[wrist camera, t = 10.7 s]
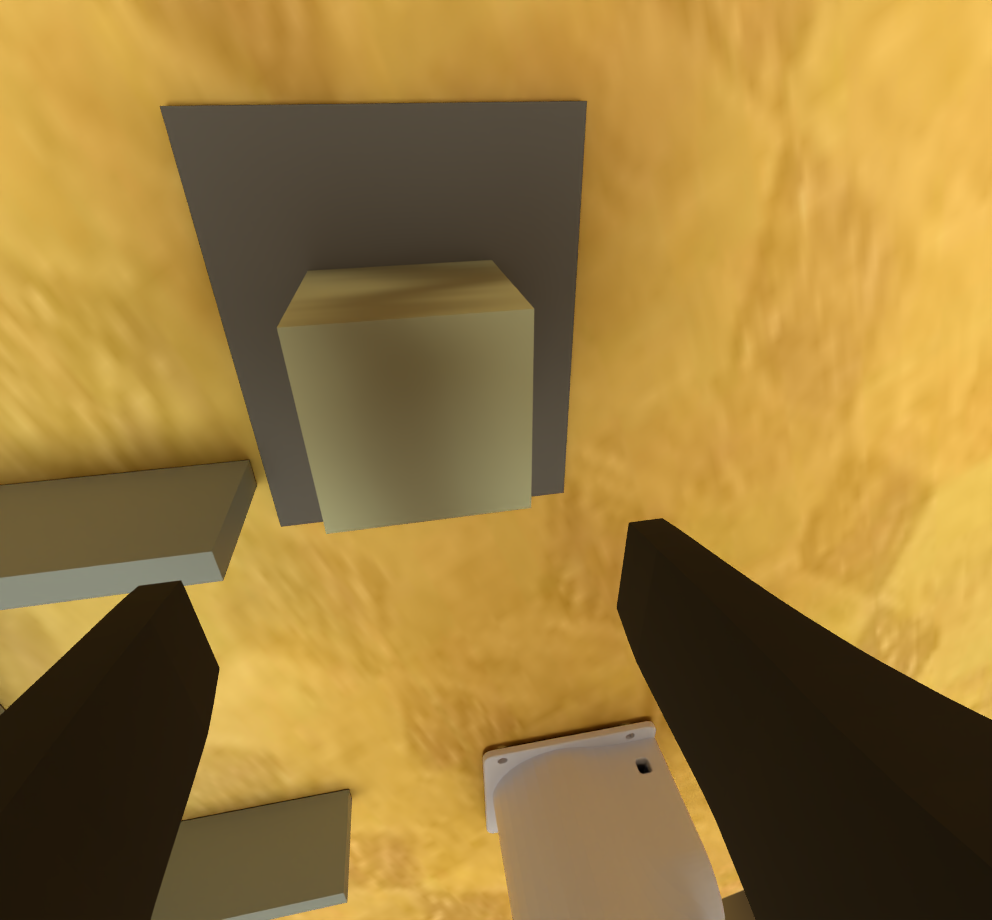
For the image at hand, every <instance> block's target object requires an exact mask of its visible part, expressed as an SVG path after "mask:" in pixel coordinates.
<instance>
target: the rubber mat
mask: <svg viewBox="0 0 992 920" xmlns="http://www.w3.org/2000/svg"><path fill="white" fill-rule="evenodd" d="M586 107H587V101H550V102H466V103H382V104H299V105H215V106H160V109H161V112H162V116H163V119H164V123H165V126H166V130H167V133H168V136H169V140H170V143H171V147H172V150H173V154H174V157H175V161H176V164H177V168H178V171H179V175H180V178H181V182H182V185H183V188H184V192H185V195H186V199H187V202H188V206H189V209H190V213H191V216H192V220H193V223H194V227H195V230H196V234H197V237H198V241H199V244H200V247H201V251H202V254H203V258H204V261H205V265H206V268H207V272H208V275H209V279H210V282H211V286H212V289H213V293H214V296H215V300H216V303H217V306H218V310H219V313H220V317H221V320H222V324H223V327H224V331H225V334H226V338H227V341H228V345H229V348H230V352H231V355H232V359H233V362H234V365H235V369H236V372H237V376H238V379H239V383H240V386H241V390H242V393H243V397H244V400H245V404H246V407H247V411H248V414H249V418H250V421H251V424H252V428H253V431H254V435H255V438H256V442H257V445H258V449H259V452H260V456H261V459H262V463H263V466H264V470H265V473H266V477H267V480H268V483H269V487H270V490H271V494H272V497H273V501H274V504H275V508H276V511H277V515H278V518H279V522H280V525H281V527H283V526H291V525H299V524H308V523H316V522H323V518H322V514H321V510H320V506H319V501H318V497H317V493H316V489H315V485H314V481H313V476H312V472H311V468H310V464H309V460H308V456H307V451H306V447H305V443H304V439H303V435H302V431H301V426H300V422H299V418H298V414H297V410H296V406H295V401H294V397H293V393H292V389H291V385H290V381H289V376H288V372H287V368H286V364H285V360H284V356H283V352H282V347H281V343H280V339H279V335H278V331H277V326H278V325H279V323H280V321H281V319H282V317H283V315H284V313H285V312H286V310H287V308H288V306H289V304H290V302H291V301H292V299H293V297H294V295H295V293H296V291H297V290H298V288H299V286H300V284H301V282H302V280H303V278H304V277H305V275H306V273H307V271H313V270H330V269H347V268H364V267H381V266H397V265H414V264H431V263H448V262H464V261H481V260H492V261H493V262H494V263H495V264H496V265H497V267H498V268H499V269H500V270H501V271H502V272H503V273H504V275H505V276H506V277H507V278H508V279H509V280H510V281H511V283H512V284H513V285H514V286H515V287H516V288H517V289H518V291H519V292H520V293H521V294H522V295H523V296H524V298H525V299H526V300H527V301H528V302H529V303H530V304H531V306H532V307H533V308H534V357H533V420H532V482H531V496H540V495H548V494H556V493H564V476H565V459H566V443H567V426H568V409H569V392H570V375H571V359H572V342H573V325H574V308H575V291H576V275H577V258H578V241H579V224H580V207H581V191H582V174H583V157H584V140H585V123H586Z"/></svg>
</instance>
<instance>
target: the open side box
mask: <svg viewBox="0 0 992 920" xmlns="http://www.w3.org/2000/svg"><path fill="white" fill-rule="evenodd" d="M256 487H257V484H256V481H255V478H254V474H253V471H252V468H251V464H250V461H249V460H244V461H234V462H224V463H214V464H205V465H195V466H185V467H175V468H166V469H156V470H146V471H137V472H127V473H117V474H107V475H98V476H88V477H78V478H68V479H59V480H49V481H39V482H29V483H20V484H10V485H0V610H5V609H13V608H20V607H28V606H35V605H43V604H50V603H58V602H66V601H73V600H81V599H88V598H96V597H103V596H111V595H118V594H126V593H131V592H132V591H133V590H134V589H135V588H136V587H138V586H140V585H148V584H156V583H163V582H171V581H179V580H181V581H182V583H183V585H184V586H186V585H194V584H201V583H209V582H216V581H223V580H224V577H225V574H226V571H227V568H228V566H229V563H230V560H231V557H232V554H233V552H234V549H235V546H236V543H237V540H238V537H239V535H240V532H241V529H242V526H243V523H244V521H245V518H246V515H247V512H248V509H249V507H250V504H251V501H252V498H253V495H254V492H255V490H256ZM4 711H5V710H4V709H3V708H2V707H1V705H0V715H1V714H2V713H3V712H4ZM351 808H352V798H351V795H350V792H349V789H348V790H343V791H338V792H333V793H328V794H322V795H317V796H312V797H307V798H301V799H296V800H291V801H286V802H281V803H275V804H270V805H265V806H260V807H254V808H249V809H244V810H239V811H234V812H228V813H223V814H218V815H213V816H208V817H202V818H197V819H192V820H187V821H181V823H180V826H179V829H178V833H177V836H176V839H175V842H174V845H173V849H172V852H171V855H170V858H169V861H168V865H167V868H166V871H165V874H164V877H163V880H162V884H161V887H160V890H159V893H158V896H157V900H156V903H155V906H154V910H153V914H152V917H151V920H270V919H274V918H279V917H284V916H288V915H293V914H297V913H302V912H306V911H311V910H315V909H320V908H324V907H329V906H333V905H338V904H342V903H347V897H348V875H349V852H350V830H351Z"/></svg>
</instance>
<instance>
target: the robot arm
mask: <svg viewBox="0 0 992 920" xmlns="http://www.w3.org/2000/svg"><path fill="white" fill-rule="evenodd" d="M617 610H618V613H619V616H620V619H621V621H622V624H623V627H624V630H625V633H626V636H627V638H628V641H629V644H630V646H631V649H632V652H633V654H634V657H635V659H636V662H637V664H638V666H639V668H640V670H641V672H642V674H643V676H644V678H645V680H646V682H647V684H648V686H649V688H650V690H651V692H652V694H653V696H654V698H655V700H656V702H657V704H658V706H659V708H660V710H661V712H662V714H663V716H664V718H665V720H666V722H667V723H668V725H669V727H670V729H671V731H672V733H673V735H674V737H675V739H676V741H677V743H678V745H679V747H680V749H681V751H682V753H683V755H684V757H685V759H686V761H687V762H688V764H689V766H690V768H691V770H692V772H693V774H694V776H695V778H696V780H697V782H698V784H699V786H700V788H701V790H702V792H703V794H704V796H705V798H706V800H707V803H708V805H709V807H710V809H711V811H712V813H713V815H714V818H715V820H716V822H717V824H718V827H719V829H720V832H721V834H722V837H723V839H724V842H725V844H726V847H727V849H728V851H729V854H730V856H731V859H732V861H733V864H734V866H735V869H736V871H737V874H738V876H739V878H740V881H741V883H742V886H743V888H744V891H745V893H746V896H747V898H748V901H749V904H750V906H751V909H752V911H753V914H754V917H755V919H756V920H992V720H991V719H989V718H987V717H985V716H983V715H981V714H979V713H977V712H975V711H973V710H971V709H969V708H967V707H965V706H963V705H961V704H959V703H957V702H955V701H953V700H951V699H949V698H947V697H945V696H943V695H941V694H939V693H938V692H936V691H934V690H932V689H930V688H928V687H926V686H925V685H923V684H921V683H919V682H917V681H915V680H914V679H912V678H910V677H908V676H906V675H904V674H903V673H901V672H899V671H897V670H895V669H893V668H892V667H890V666H888V665H886V664H884V663H882V662H881V661H879V660H877V659H875V658H874V657H872V656H870V655H868V654H867V653H865V652H863V651H862V650H860V649H858V648H856V647H855V646H853V645H851V644H850V643H848V642H846V641H845V640H843V639H842V638H840V637H838V636H837V635H835V634H834V633H832V632H830V631H829V630H827V629H825V628H824V627H822V626H821V625H819V624H817V623H816V622H814V621H812V620H811V619H809V618H808V617H806V616H804V615H803V614H801V613H800V612H798V611H797V610H795V609H794V608H792V607H791V606H789V605H788V604H786V603H784V602H783V601H781V600H780V599H778V598H777V597H775V596H774V595H772V594H771V593H769V592H768V591H767V590H765V589H764V588H762V587H761V586H759V585H758V584H756V583H755V582H753V581H752V580H750V579H749V578H747V577H746V576H745V575H743V574H742V573H740V572H739V571H737V570H736V569H735V568H733V567H732V566H730V565H729V564H727V563H726V562H725V561H723V560H722V559H720V558H719V557H718V556H716V555H715V554H713V553H712V552H710V551H709V550H708V549H706V548H705V547H703V546H702V545H701V544H699V543H698V542H696V541H695V540H694V539H692V538H691V537H689V536H688V535H686V534H685V533H684V532H682V531H681V530H679V529H678V528H676V527H675V526H673V525H672V524H670V523H669V522H667V521H666V520H664V519H663V518H661V519H653V520H645V521H637V522H630V523H629V525H628V532H627V539H626V546H625V553H624V560H623V567H622V574H621V581H620V588H619V595H618V602H617ZM218 674H219V666H218V664H217V661H216V659H215V657H214V654H213V652H212V650H211V647H210V645H209V643H208V641H207V638H206V636H205V634H204V631H203V629H202V627H201V624H200V622H199V620H198V618H197V615H196V613H195V611H194V608H193V606H192V604H191V601H190V599H189V597H188V595H187V592H186V590H185V588H184V585H183V583H182V581H181V580H179V581H171V582H163V583H156V584H148V585H140V586H138V587H136V588H135V589H134V590H133V591H132V592H131V593H130V594H128V595H127V596H126V597H125V598H124V599H123V600H122V601H121V602H120V603H119V604H117V605H116V606H115V607H114V608H113V609H112V610H111V611H110V612H109V613H108V614H107V615H106V616H105V617H104V618H103V619H102V620H100V621H99V622H98V623H97V624H96V625H95V626H94V627H93V628H92V629H91V630H90V631H89V632H88V633H87V634H86V635H85V636H84V637H83V638H82V639H81V640H80V641H78V642H77V643H76V644H75V645H74V646H73V647H72V648H71V649H70V650H69V651H68V652H67V653H66V654H65V655H64V656H63V657H62V658H61V659H60V660H59V661H57V662H56V663H55V664H54V665H53V666H52V667H51V668H50V669H49V670H48V671H47V672H46V673H45V674H44V675H43V676H42V677H40V678H39V679H38V680H37V681H36V682H35V683H34V684H33V685H32V686H31V687H30V688H29V689H28V690H27V691H26V692H24V693H23V694H22V695H21V696H20V697H19V698H18V699H17V700H16V701H15V702H14V703H13V704H12V705H11V706H10V707H9V708H7V709H6V710H5V711H4V712H3V713H2V714H1V715H0V920H151V917H152V914H153V910H154V906H155V903H156V900H157V896H158V893H159V890H160V887H161V884H162V880H163V877H164V874H165V871H166V868H167V865H168V861H169V858H170V855H171V852H172V849H173V845H174V842H175V839H176V836H177V833H178V829H179V826H180V823H181V820H182V817H183V814H184V810H185V807H186V804H187V801H188V798H189V794H190V791H191V788H192V785H193V781H194V778H195V775H196V772H197V768H198V765H199V762H200V759H201V755H202V752H203V749H204V745H205V742H206V738H207V735H208V730H209V725H210V720H211V715H212V710H213V705H214V699H215V693H216V686H217V680H218ZM655 733H656V728H655V725H654V723H653V722H651V721H644V722H639V723H634V724H628V725H623V726H618V727H613V728H607V729H602V730H597V731H591V732H586V733H581V734H575V735H570V736H565V737H559V738H554V739H549V740H544V741H538V742H533V743H528V744H522V745H517V746H512V747H506V748H501V749H496V750H491V751H488V752H486V753H485V754H484V755H483V775H484V793H485V812H486V827H487V831H488V832H490V833H498V834H499V840H500V846H501V852H502V858H503V864H504V870H505V876H506V882H507V888H508V894H509V900H510V906H511V912H512V918H513V920H725V915H724V909H723V904H722V900H721V896H720V892H719V888H718V885H717V881H716V878H715V875H714V872H713V869H712V866H711V863H710V861H709V858H708V855H707V853H706V850H705V848H704V846H703V843H702V841H701V839H700V837H699V835H698V832H697V830H696V828H695V826H694V823H693V821H692V819H691V817H690V815H689V812H688V810H687V808H686V806H685V804H684V801H683V799H682V797H681V795H680V793H679V790H678V788H677V786H676V784H675V781H674V779H673V777H672V775H671V773H670V770H669V768H668V766H667V764H666V762H665V759H664V757H663V755H662V753H661V750H660V748H659V746H658V744H657V742H656V739H655V738H654V737H655Z"/></svg>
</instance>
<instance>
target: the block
mask: <svg viewBox="0 0 992 920" xmlns="http://www.w3.org/2000/svg"><path fill="white" fill-rule="evenodd" d="M277 331H278V335H279V339H280V343H281V347H282V352H283V356H284V360H285V364H286V368H287V372H288V376H289V381H290V385H291V389H292V393H293V397H294V401H295V406H296V410H297V414H298V418H299V422H300V426H301V431H302V435H303V439H304V443H305V447H306V451H307V456H308V460H309V464H310V468H311V472H312V476H313V481H314V485H315V489H316V493H317V497H318V501H319V506H320V510H321V514H322V518H323V522H324V526H325V531H326V534H330V533H337V532H345V531H353V530H361V529H369V528H377V527H384V526H392V525H400V524H408V523H416V522H424V521H432V520H439V519H447V518H455V517H463V516H471V515H479V514H486V513H494V512H502V511H510V510H518V509H526V508H531V482H532V420H533V357H534V308H533V307H532V306H531V304H530V303H529V302H528V301H527V300H526V299H525V298H524V296H523V295H522V294H521V293H520V292H519V291H518V289H517V288H516V287H515V286H514V285H513V284H512V283H511V281H510V280H509V279H508V278H507V277H506V276H505V275H504V273H503V272H502V271H501V270H500V269H499V268H498V267H497V265H496V264H495V263H494V262H493V261H492V260H481V261H464V262H448V263H431V264H414V265H397V266H381V267H364V268H347V269H330V270H313V271H307V273H306V275H305V277H304V278H303V280H302V282H301V284H300V286H299V288H298V290H297V291H296V293H295V295H294V297H293V299H292V301H291V302H290V304H289V306H288V308H287V310H286V312H285V313H284V315H283V317H282V319H281V321H280V323H279V325H278V326H277Z"/></svg>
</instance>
